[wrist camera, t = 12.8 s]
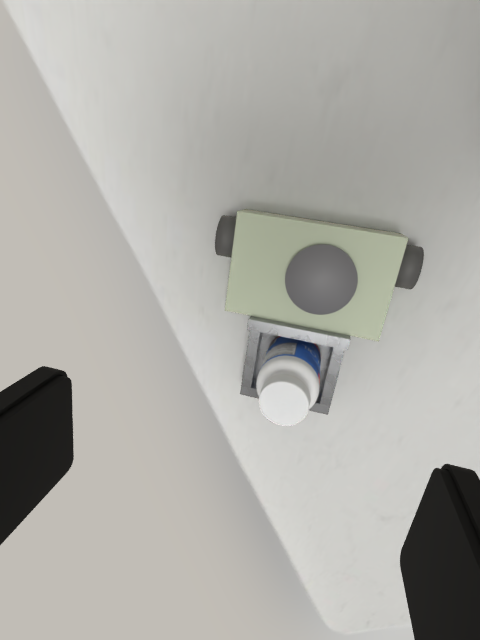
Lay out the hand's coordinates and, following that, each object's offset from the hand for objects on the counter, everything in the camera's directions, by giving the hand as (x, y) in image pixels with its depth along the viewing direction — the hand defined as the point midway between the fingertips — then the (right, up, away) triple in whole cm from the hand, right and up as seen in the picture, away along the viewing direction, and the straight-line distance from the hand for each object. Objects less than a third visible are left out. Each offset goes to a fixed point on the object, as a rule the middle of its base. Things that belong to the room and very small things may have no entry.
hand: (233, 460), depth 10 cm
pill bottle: (+6, 0, +29) cm, 30 cm away
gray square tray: (+6, 0, +29) cm, 30 cm away
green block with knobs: (+7, +8, +26) cm, 28 cm away
